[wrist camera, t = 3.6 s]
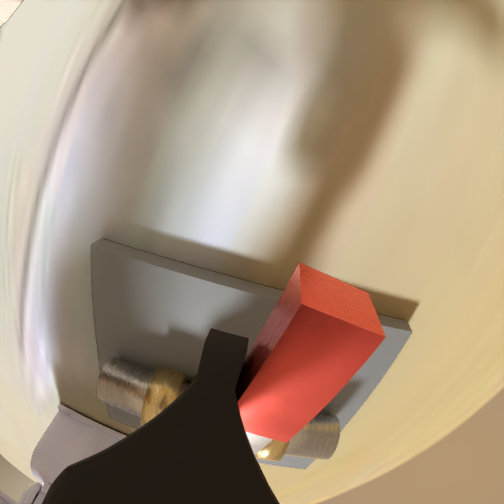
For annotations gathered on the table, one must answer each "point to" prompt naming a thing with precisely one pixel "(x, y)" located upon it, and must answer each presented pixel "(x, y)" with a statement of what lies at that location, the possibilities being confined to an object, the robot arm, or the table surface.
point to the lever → (304, 355)
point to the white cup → (8, 9)
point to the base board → (200, 323)
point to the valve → (173, 385)
